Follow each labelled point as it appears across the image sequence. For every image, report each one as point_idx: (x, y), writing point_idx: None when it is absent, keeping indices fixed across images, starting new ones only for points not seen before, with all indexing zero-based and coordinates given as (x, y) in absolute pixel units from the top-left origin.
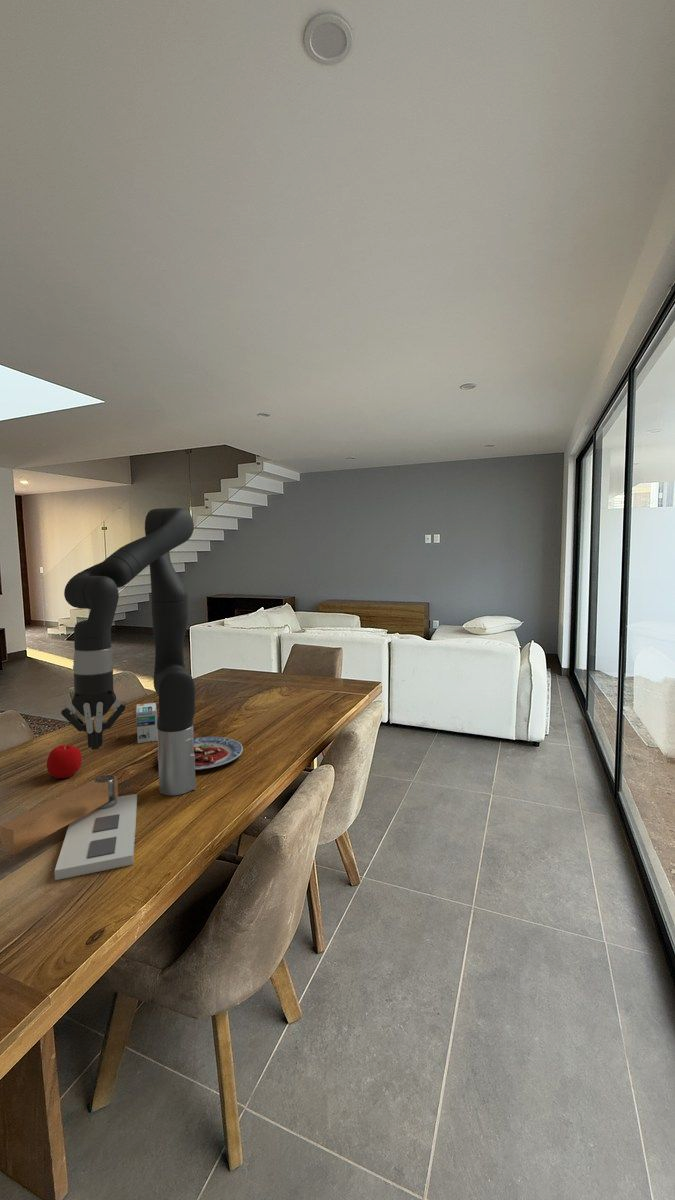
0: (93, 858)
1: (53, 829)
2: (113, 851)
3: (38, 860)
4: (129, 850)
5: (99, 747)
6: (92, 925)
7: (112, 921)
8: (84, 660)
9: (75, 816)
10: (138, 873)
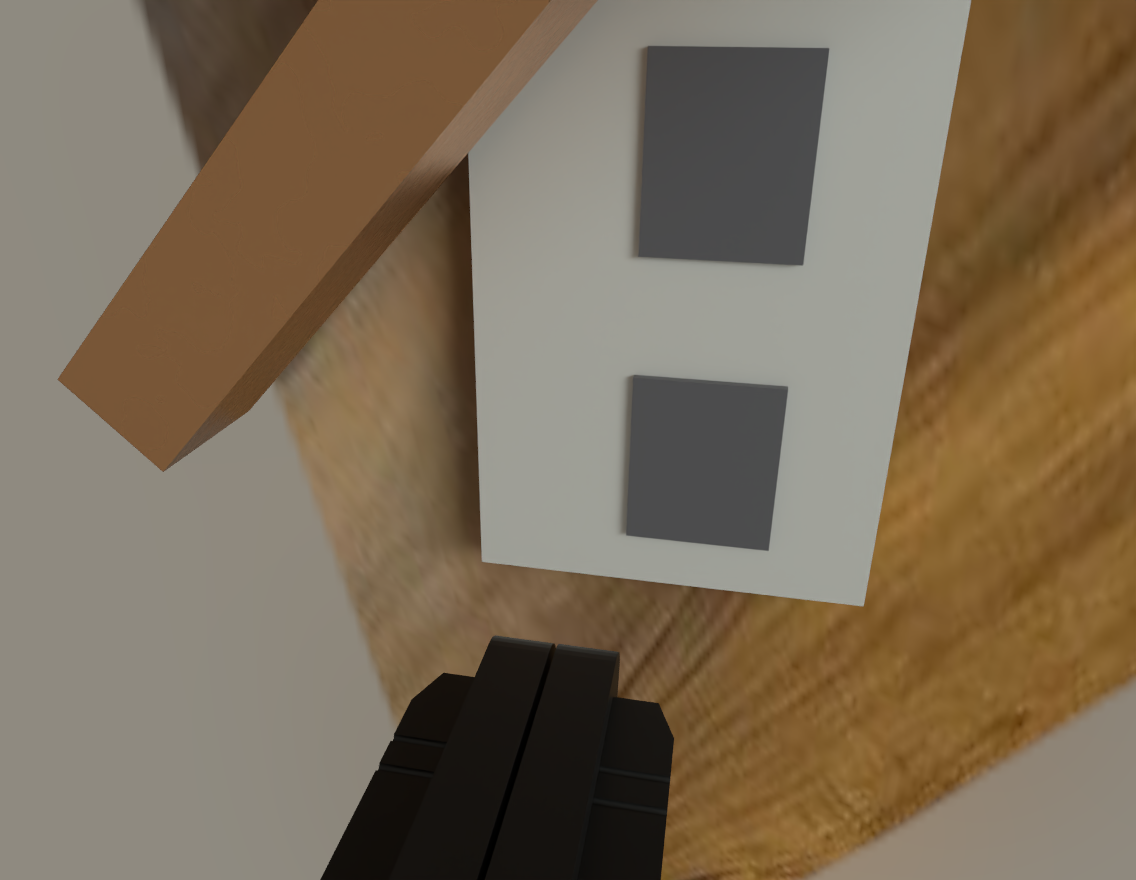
0: (658, 543)
1: (383, 247)
2: (763, 545)
3: (376, 323)
4: (851, 554)
5: (616, 694)
6: (676, 849)
7: (744, 864)
8: None
9: (496, 111)
10: (874, 653)
